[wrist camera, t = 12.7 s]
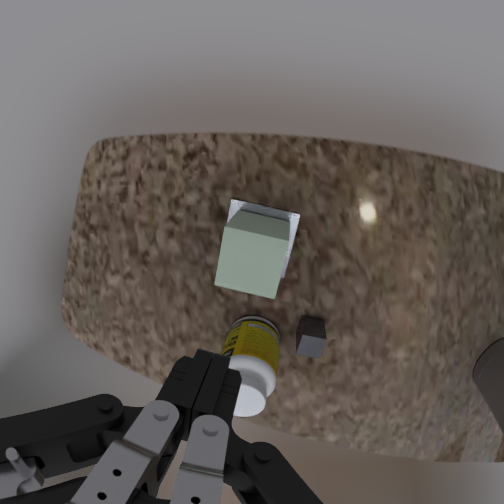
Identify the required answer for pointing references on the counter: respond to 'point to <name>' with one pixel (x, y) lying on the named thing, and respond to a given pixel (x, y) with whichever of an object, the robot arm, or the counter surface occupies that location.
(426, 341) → the counter surface
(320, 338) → the short post
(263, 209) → the post on square base
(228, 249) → the pale green block
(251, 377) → the pill bottle
